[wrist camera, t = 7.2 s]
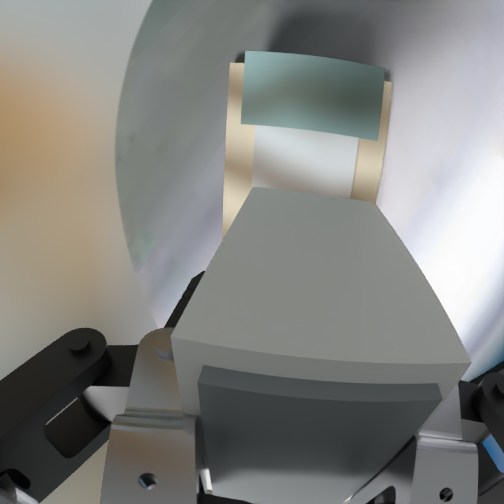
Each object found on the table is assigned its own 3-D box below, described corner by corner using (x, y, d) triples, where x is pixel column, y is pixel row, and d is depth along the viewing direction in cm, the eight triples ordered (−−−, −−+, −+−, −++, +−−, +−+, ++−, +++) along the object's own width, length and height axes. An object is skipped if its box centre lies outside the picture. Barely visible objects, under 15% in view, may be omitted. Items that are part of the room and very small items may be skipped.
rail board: (233, 65, 20) (211, 51, 15) (387, 83, 19) (416, 76, 13) (224, 269, 28) (206, 309, 23) (352, 284, 27) (362, 329, 22)
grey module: (243, 330, 12) (199, 496, 6) (252, 186, 10) (162, 353, 3) (338, 341, 12) (346, 510, 6) (374, 202, 9) (478, 378, 3)
